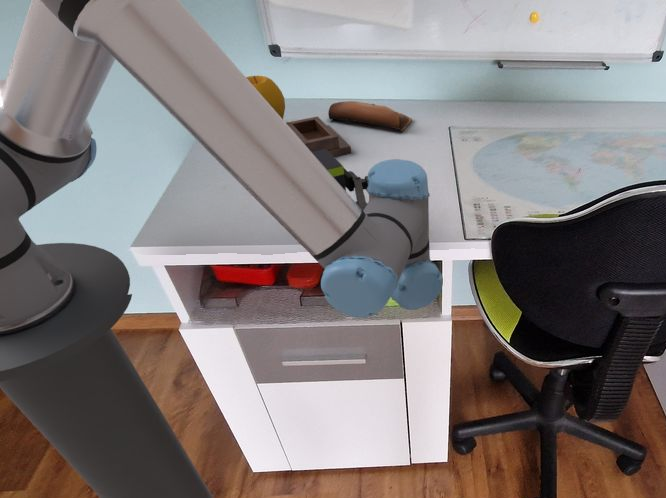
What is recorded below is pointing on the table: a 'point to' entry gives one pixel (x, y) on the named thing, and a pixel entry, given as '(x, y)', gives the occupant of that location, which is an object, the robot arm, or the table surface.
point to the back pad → (331, 165)
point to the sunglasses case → (368, 114)
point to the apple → (269, 92)
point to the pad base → (319, 136)
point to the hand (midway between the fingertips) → (317, 173)
